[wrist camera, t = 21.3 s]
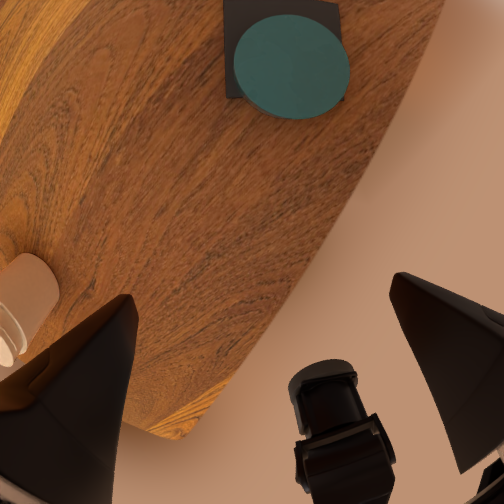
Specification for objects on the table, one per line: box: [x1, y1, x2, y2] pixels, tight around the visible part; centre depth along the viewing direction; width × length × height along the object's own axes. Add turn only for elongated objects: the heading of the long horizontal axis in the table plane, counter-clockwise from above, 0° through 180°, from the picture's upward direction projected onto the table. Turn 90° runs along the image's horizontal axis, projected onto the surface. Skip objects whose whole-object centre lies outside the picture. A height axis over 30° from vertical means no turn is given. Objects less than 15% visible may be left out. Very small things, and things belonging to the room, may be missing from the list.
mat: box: [223, 0, 344, 101], centre depth 15 cm, size 8×8×1 cm
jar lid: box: [233, 15, 350, 119], centre depth 14 cm, size 7×7×2 cm
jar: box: [0, 253, 60, 367], centre depth 17 cm, size 6×6×9 cm
